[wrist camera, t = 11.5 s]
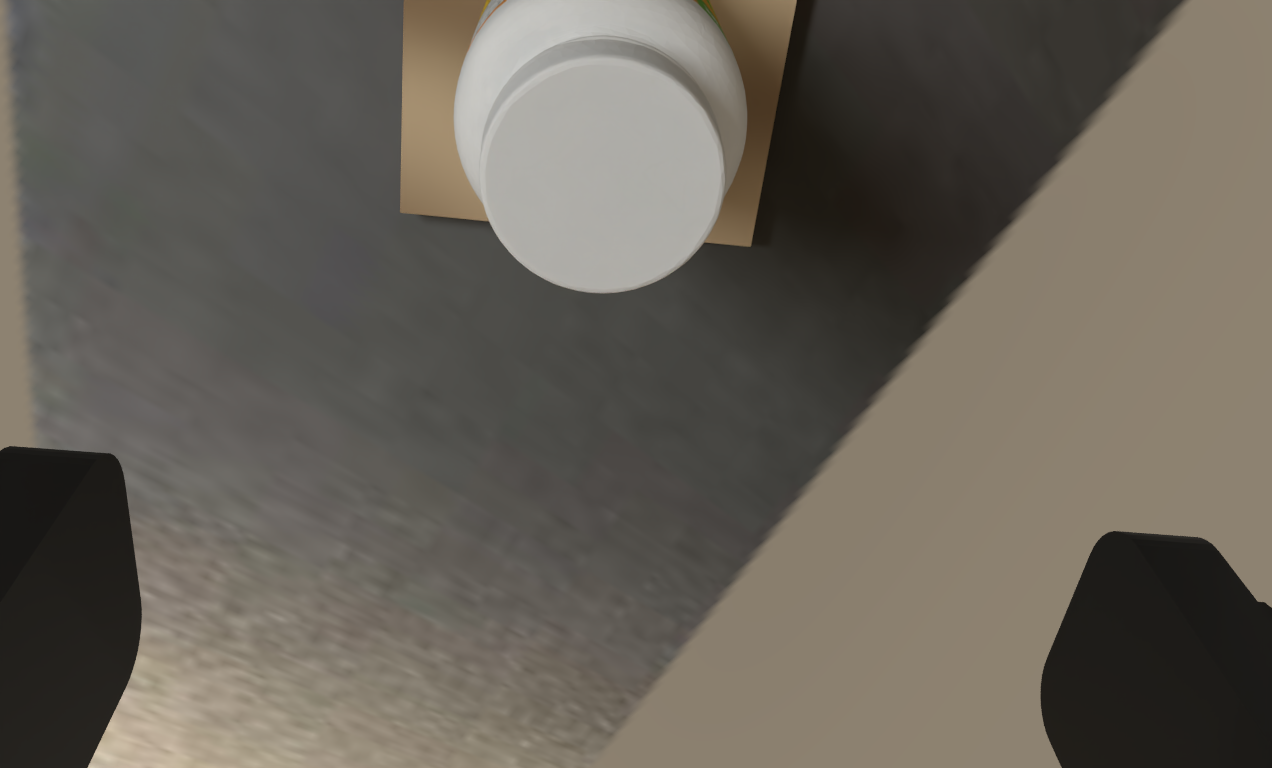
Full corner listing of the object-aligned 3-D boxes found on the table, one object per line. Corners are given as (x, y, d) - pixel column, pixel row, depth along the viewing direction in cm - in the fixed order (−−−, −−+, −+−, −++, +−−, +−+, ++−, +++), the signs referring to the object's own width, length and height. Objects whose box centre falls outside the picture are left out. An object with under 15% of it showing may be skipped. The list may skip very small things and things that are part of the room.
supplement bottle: (760, 30, 26) (843, 170, 18) (607, 192, 28) (616, 389, 20) (588, -142, 24) (589, -73, 16) (435, 45, 26) (364, 195, 18)
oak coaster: (410, -187, 24) (406, -185, 24) (815, -133, 25) (821, -131, 24) (403, 204, 29) (400, 212, 28) (747, 237, 29) (751, 246, 29)
